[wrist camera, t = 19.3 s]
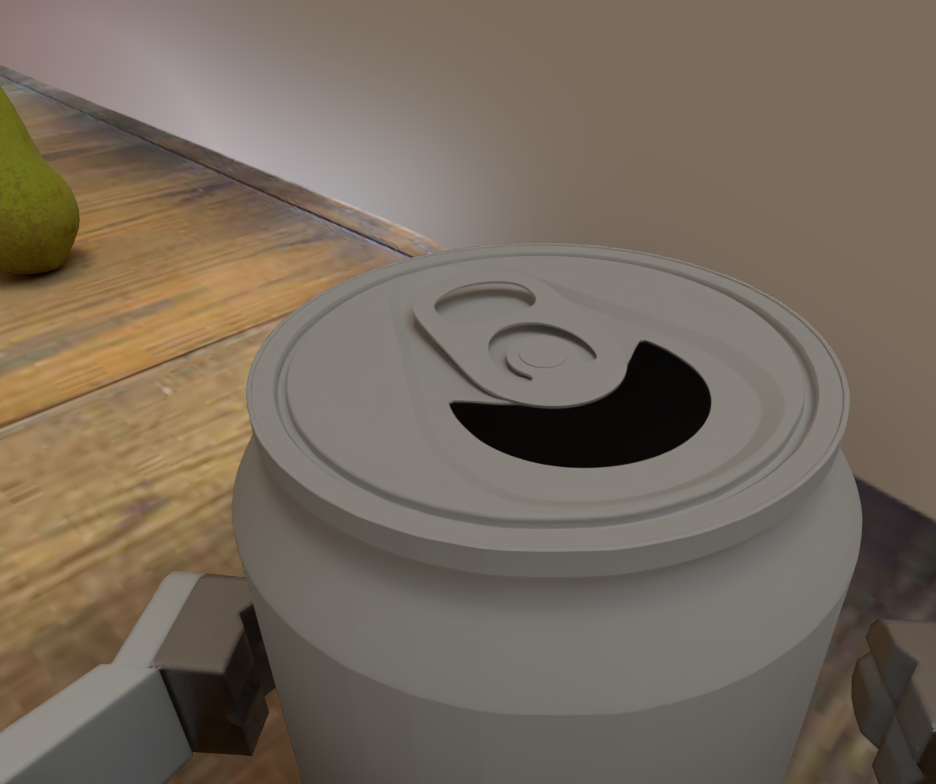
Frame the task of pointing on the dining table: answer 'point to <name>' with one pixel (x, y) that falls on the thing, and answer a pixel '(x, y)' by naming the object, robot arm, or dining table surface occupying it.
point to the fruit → (31, 202)
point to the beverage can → (545, 521)
